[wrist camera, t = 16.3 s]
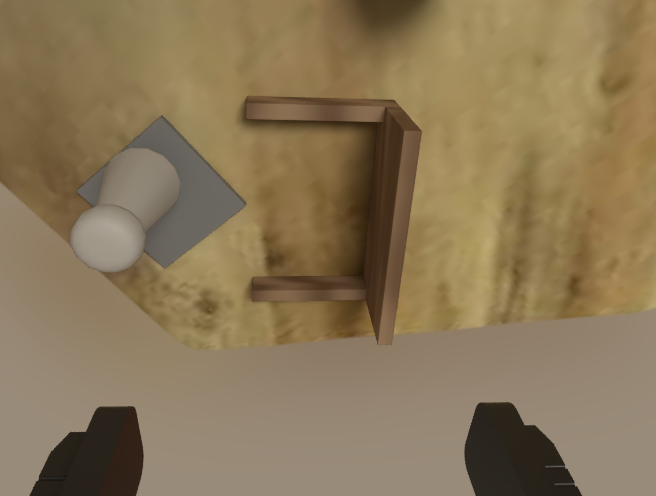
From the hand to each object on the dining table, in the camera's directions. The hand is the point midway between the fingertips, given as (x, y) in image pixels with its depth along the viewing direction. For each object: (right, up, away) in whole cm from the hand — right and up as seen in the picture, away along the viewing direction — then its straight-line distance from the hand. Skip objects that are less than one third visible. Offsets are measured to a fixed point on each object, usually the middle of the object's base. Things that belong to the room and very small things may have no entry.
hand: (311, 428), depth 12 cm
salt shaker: (-15, +11, +30) cm, 35 cm away
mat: (-14, +9, +31) cm, 35 cm away
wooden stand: (-1, +8, +33) cm, 34 cm away
